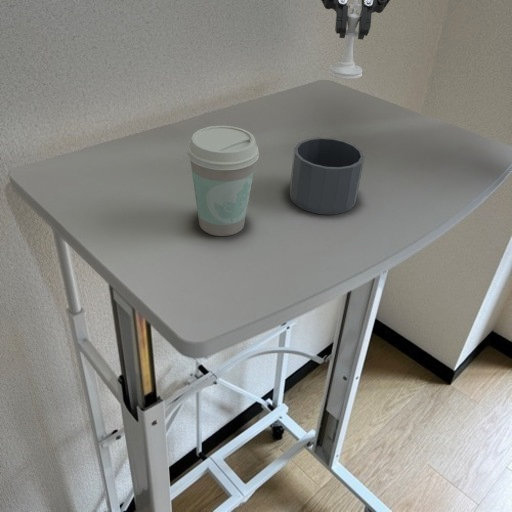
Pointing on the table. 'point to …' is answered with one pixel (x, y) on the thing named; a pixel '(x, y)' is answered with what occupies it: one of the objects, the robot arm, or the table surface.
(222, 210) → the coffee cup
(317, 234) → the table surface
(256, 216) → the table surface
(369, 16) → the robot arm
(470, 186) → the table surface
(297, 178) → the tumbler
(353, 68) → the chess piece
